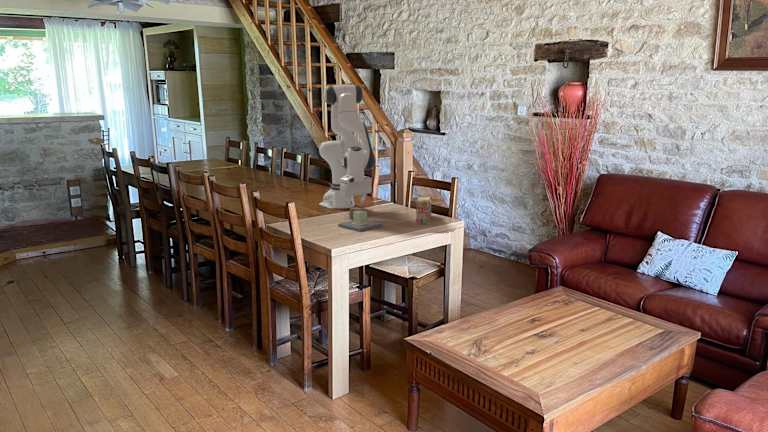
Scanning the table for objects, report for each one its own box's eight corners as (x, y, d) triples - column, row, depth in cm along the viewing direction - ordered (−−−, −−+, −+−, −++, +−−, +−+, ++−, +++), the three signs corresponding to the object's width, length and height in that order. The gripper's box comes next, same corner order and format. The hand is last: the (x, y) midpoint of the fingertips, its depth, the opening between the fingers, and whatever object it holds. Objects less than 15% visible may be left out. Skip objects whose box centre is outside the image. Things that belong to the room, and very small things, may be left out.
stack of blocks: (420, 215, 339) (420, 193, 336) (431, 215, 338) (431, 193, 335) (416, 224, 318) (416, 201, 315) (428, 224, 317) (428, 201, 315)
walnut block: (349, 219, 330) (349, 208, 329) (356, 217, 334) (356, 206, 333) (356, 220, 327) (356, 209, 326) (363, 219, 330) (362, 208, 329)
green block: (353, 223, 313) (353, 211, 312) (360, 221, 317) (360, 210, 316) (360, 224, 310) (359, 212, 309) (367, 223, 313) (367, 211, 312)
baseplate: (338, 226, 314) (338, 223, 313) (361, 221, 325) (361, 218, 324) (359, 231, 303) (359, 228, 302) (382, 226, 314) (382, 222, 313)
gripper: (366, 175, 335) (366, 200, 337) (337, 179, 321) (338, 205, 323) (374, 176, 330) (374, 201, 333) (345, 180, 316) (346, 206, 319)
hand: (356, 203), depth 328 cm, fingers open, 8 cm apart
